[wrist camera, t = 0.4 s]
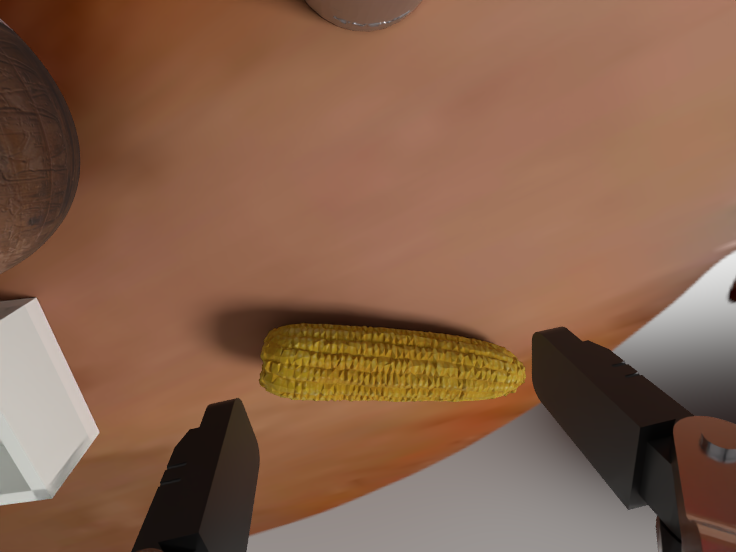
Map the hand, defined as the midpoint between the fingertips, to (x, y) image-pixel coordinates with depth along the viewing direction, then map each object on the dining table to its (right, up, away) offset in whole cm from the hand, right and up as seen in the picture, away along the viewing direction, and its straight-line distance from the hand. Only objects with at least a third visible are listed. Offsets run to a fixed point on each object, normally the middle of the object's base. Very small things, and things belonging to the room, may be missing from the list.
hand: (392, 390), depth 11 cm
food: (+1, -3, +22) cm, 23 cm away
